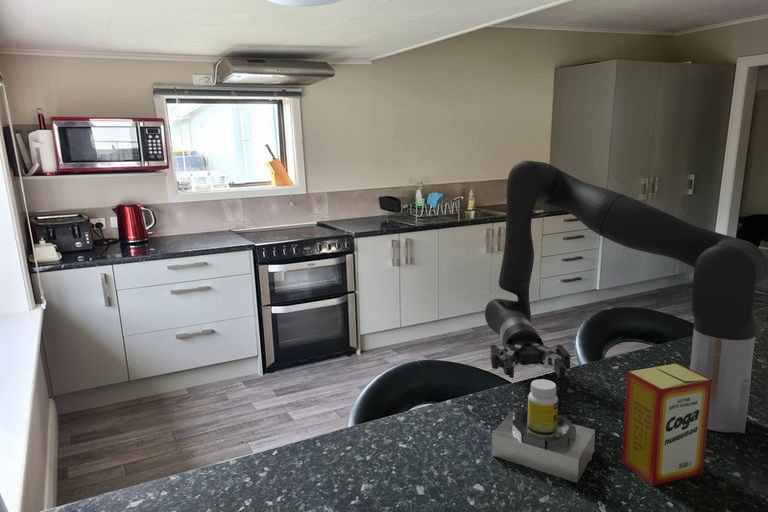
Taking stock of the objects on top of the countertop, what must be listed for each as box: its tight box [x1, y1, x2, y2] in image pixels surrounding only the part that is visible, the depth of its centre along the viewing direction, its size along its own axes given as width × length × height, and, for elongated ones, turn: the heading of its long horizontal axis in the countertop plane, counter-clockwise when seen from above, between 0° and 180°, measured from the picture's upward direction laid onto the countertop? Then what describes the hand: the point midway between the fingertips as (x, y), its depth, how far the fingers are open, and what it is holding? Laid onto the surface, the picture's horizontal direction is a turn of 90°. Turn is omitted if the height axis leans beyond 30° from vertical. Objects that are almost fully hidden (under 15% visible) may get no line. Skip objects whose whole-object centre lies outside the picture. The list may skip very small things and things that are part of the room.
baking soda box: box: [621, 363, 712, 487], centre depth 82 cm, size 10×6×16 cm
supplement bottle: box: [527, 378, 559, 438], centre depth 87 cm, size 5×5×8 cm
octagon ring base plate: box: [491, 406, 596, 484], centre depth 88 cm, size 14×10×5 cm
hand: (536, 373), depth 93 cm, fingers open, 8 cm apart
